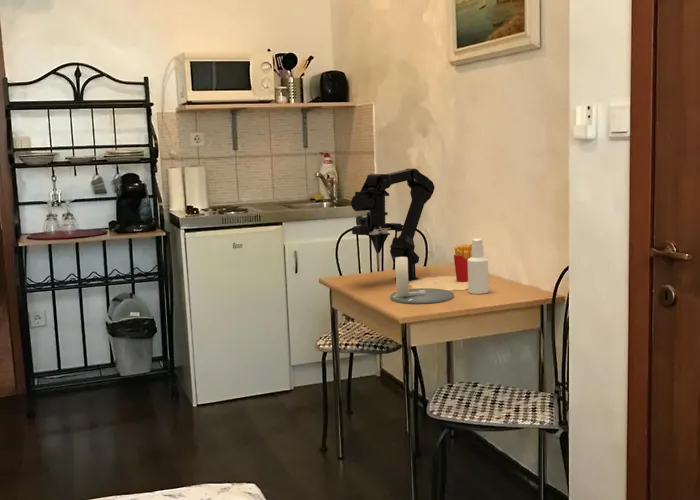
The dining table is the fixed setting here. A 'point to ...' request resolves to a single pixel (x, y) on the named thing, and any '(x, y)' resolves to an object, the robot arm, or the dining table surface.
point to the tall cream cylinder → (402, 277)
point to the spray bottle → (478, 269)
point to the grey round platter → (424, 296)
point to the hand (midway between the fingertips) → (377, 252)
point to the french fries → (462, 261)
